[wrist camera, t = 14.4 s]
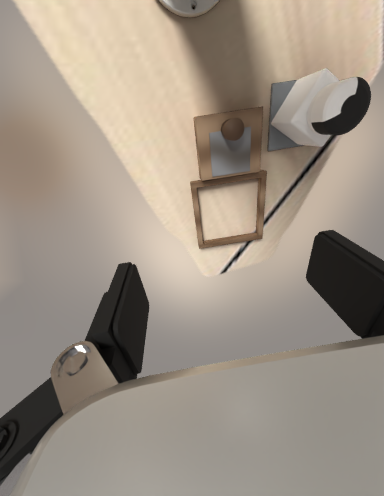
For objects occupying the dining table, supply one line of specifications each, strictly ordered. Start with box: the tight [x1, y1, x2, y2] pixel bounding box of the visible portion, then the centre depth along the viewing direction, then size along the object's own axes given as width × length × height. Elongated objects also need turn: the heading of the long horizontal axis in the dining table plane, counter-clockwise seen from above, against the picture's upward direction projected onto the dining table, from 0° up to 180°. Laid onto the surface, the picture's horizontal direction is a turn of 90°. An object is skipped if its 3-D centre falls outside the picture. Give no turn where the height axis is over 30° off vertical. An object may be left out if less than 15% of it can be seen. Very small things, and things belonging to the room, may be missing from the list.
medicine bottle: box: [271, 68, 371, 147], centre depth 29 cm, size 7×7×12 cm
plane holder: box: [190, 107, 267, 249], centre depth 38 cm, size 26×15×6 cm, turn 7°
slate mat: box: [267, 80, 304, 151], centre depth 35 cm, size 10×10×1 cm
